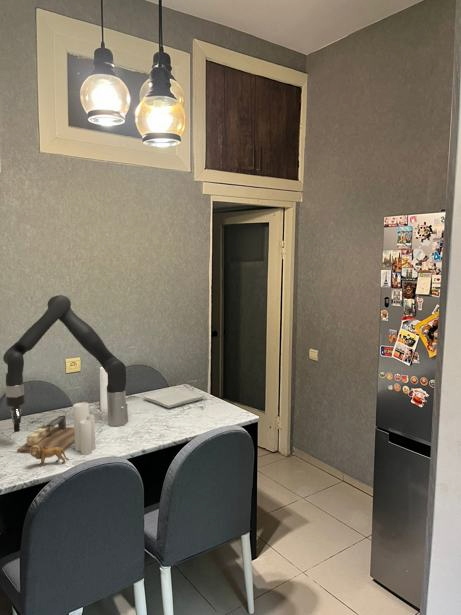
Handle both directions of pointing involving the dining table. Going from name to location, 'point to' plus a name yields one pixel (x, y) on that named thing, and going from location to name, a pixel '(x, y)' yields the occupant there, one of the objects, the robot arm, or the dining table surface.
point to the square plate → (174, 397)
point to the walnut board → (55, 436)
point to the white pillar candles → (84, 428)
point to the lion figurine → (47, 453)
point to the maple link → (38, 435)
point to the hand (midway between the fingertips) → (16, 431)
